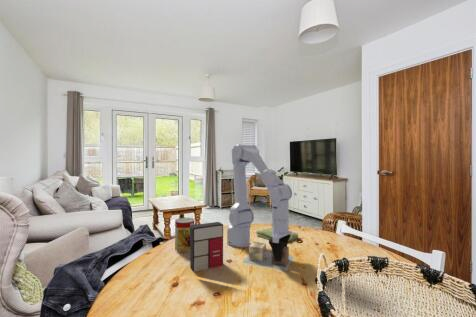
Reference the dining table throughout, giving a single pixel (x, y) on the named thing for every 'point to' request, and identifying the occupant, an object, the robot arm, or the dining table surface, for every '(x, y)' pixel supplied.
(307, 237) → the dining table surface
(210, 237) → the grey toy cabinet
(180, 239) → the canned food
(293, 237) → the washcloth
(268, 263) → the board
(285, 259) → the walnut block
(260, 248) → the birch block
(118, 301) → the dining table surface
